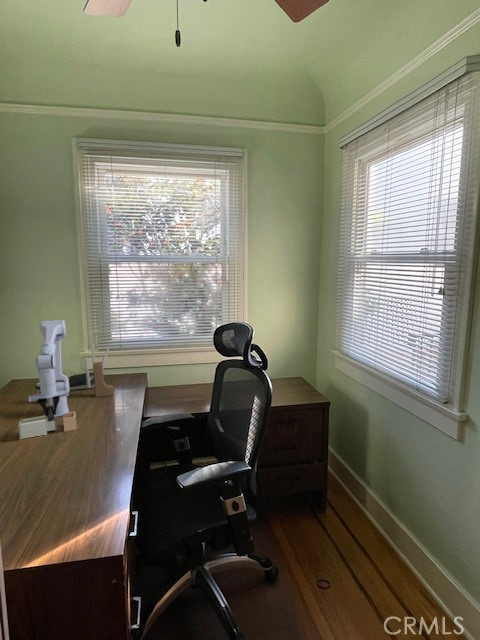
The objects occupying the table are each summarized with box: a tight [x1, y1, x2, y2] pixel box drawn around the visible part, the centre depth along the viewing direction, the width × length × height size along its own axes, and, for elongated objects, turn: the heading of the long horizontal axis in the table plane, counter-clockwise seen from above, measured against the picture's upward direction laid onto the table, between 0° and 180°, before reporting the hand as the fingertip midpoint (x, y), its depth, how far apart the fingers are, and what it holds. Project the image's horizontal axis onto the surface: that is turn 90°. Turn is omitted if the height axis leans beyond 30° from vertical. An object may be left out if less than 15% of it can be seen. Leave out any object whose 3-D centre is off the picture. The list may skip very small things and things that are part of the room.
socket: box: [62, 411, 78, 432], centre depth 153 cm, size 6×5×6 cm
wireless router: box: [68, 343, 110, 391], centre depth 210 cm, size 34×23×20 cm
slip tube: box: [25, 405, 58, 432], centre depth 148 cm, size 4×12×10 cm, turn 118°
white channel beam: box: [18, 415, 48, 440], centre depth 147 cm, size 6×10×6 cm, turn 118°
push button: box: [34, 382, 49, 404], centre depth 182 cm, size 7×5×10 cm
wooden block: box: [92, 361, 114, 398], centre depth 190 cm, size 9×4×18 cm, turn 111°
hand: (50, 414), depth 149 cm, fingers closed on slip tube, 2 cm apart
